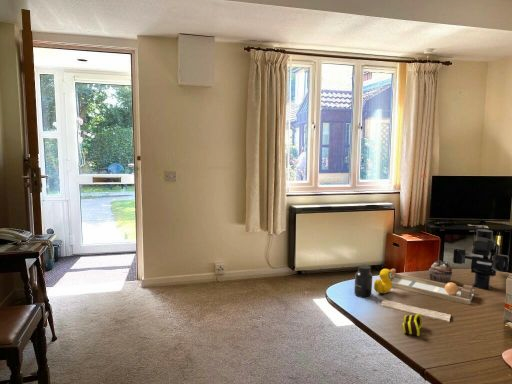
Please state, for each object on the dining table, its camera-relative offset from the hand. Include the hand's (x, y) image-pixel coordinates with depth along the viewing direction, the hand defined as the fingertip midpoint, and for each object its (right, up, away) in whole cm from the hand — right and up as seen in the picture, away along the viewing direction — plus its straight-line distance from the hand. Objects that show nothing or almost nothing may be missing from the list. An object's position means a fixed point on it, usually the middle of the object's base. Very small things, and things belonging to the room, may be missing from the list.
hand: (477, 264), depth 139 cm
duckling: (-31, -15, +14) cm, 37 cm away
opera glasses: (-33, -19, -18) cm, 42 cm away
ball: (-3, -15, +12) cm, 20 cm away
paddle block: (+1, -15, +9) cm, 18 cm away
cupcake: (0, -14, +28) cm, 31 cm away
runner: (-10, -15, +17) cm, 25 cm away
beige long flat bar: (-25, -18, -2) cm, 31 cm away
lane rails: (-10, -15, +17) cm, 25 cm away
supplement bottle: (-40, -15, +12) cm, 45 cm away
